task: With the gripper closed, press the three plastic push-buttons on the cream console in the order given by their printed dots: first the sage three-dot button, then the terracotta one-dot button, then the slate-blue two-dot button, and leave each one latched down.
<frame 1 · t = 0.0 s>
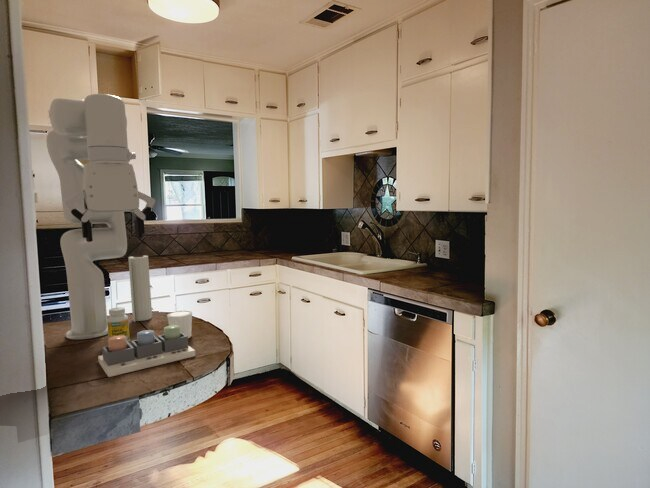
hand: (115, 239, 91), 31 cm above the counter, fingers open, 9 cm apart
button three: (172, 333, 111), point 5 cm above the counter, slide at 0.0 cm
paper towel roll: (141, 320, 144), on the counter
console: (147, 358, 107), on the counter
supplement bottle: (119, 343, 121), on the counter
button one: (117, 345, 103), point 5 cm above the counter, slide at 0.0 cm
white tapered cup: (181, 337, 125), on the counter
button two: (146, 339, 107), point 5 cm above the counter, slide at 0.0 cm
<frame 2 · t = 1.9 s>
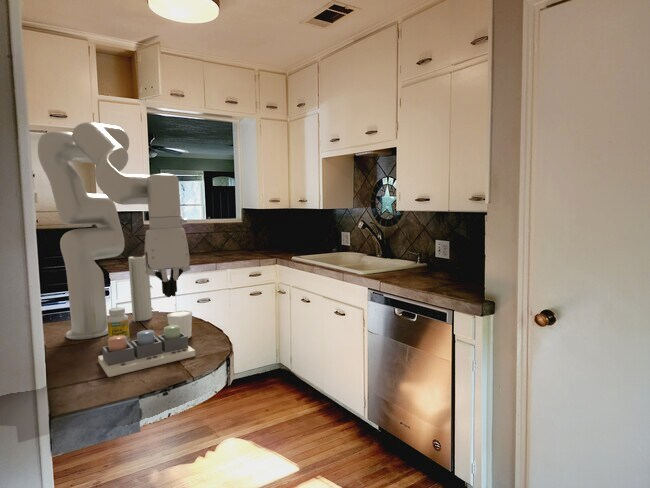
hand: (170, 295, 110), 15 cm above the counter, fingers closed
nothing on the counter moved.
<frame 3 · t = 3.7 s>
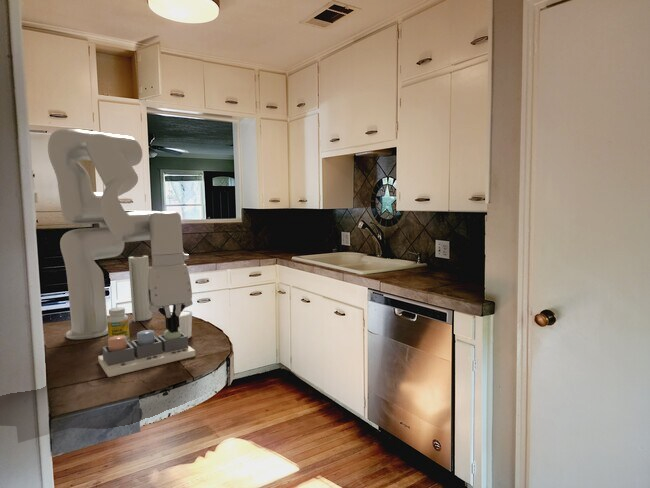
hand: (173, 331, 111), 6 cm above the counter, fingers closed
button three: (172, 337, 111), point 4 cm above the counter, slide at 1.0 cm, touching gripper
everything else where it was.
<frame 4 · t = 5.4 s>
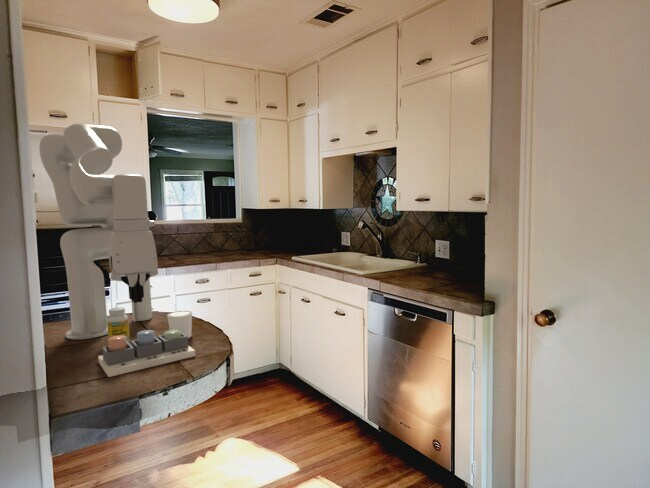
hand: (136, 301, 105), 15 cm above the counter, fingers closed
button three: (172, 338, 111), point 4 cm above the counter, slide at 1.3 cm
everything else where it was.
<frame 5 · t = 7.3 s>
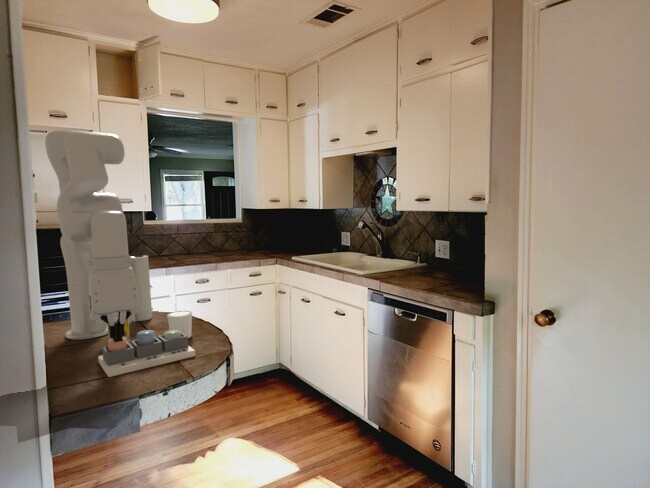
hand: (117, 340, 103), 6 cm above the counter, fingers closed
button one: (117, 347, 103), point 5 cm above the counter, slide at 0.5 cm, touching gripper
everything else where it was.
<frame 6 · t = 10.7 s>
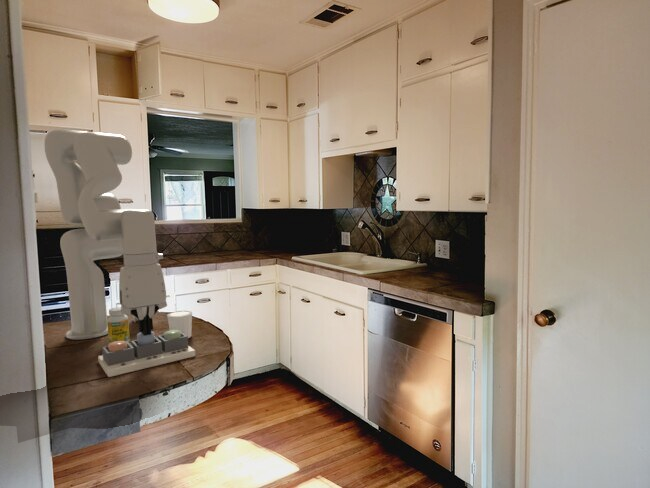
hand: (146, 333, 107), 7 cm above the counter, fingers closed
button one: (118, 350, 103), point 4 cm above the counter, slide at 1.3 cm
button two: (146, 340, 107), point 5 cm above the counter, slide at 0.3 cm, touching gripper
everything else where it was.
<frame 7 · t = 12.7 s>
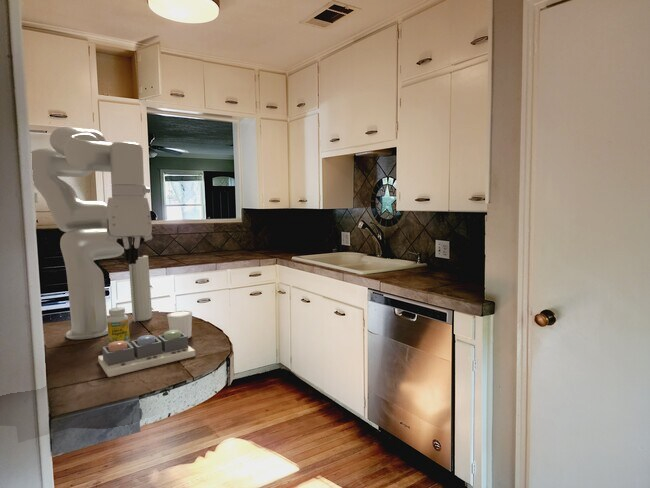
hand: (131, 263, 112), 23 cm above the counter, fingers closed
button two: (146, 344, 107), point 4 cm above the counter, slide at 1.3 cm
everything else where it was.
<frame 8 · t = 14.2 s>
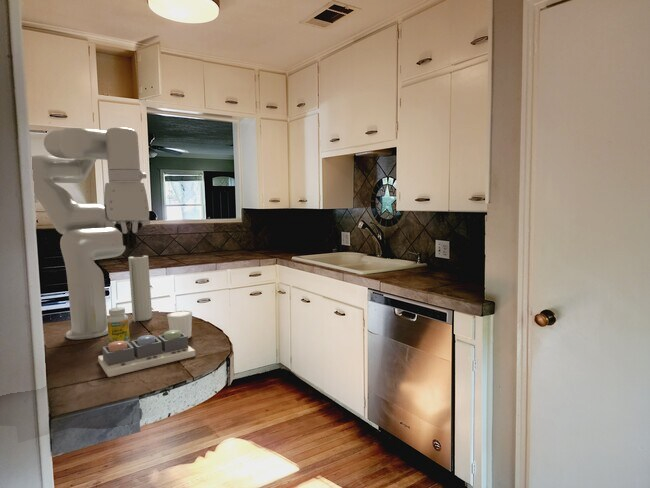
hand: (129, 248, 113), 27 cm above the counter, fingers closed
nothing on the counter moved.
at the end: button three slide at 1.3 cm; button one slide at 1.3 cm; button two slide at 1.3 cm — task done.
